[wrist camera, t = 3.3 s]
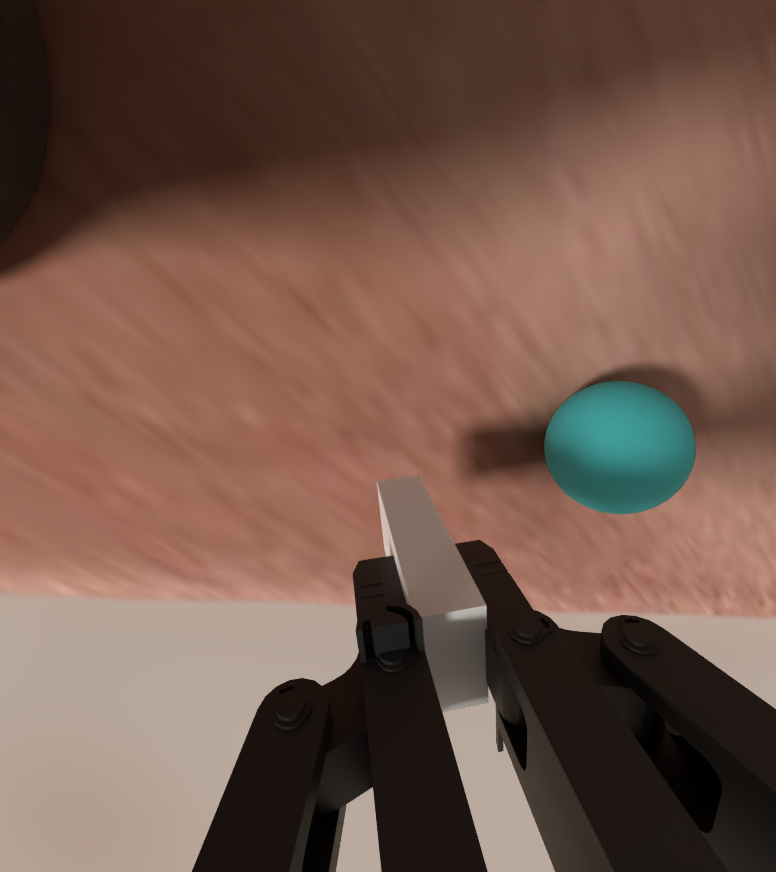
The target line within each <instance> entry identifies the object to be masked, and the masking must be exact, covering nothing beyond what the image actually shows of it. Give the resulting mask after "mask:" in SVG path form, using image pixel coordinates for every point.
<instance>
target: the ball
mask: <svg viewBox="0 0 776 872" xmlns="http://www.w3.org/2000/svg"><path fill="white" fill-rule="evenodd" d="M544 448H545V458H546V462H547V465H548V468H549V471H550V473H551V475H552V477H553V478H554V480H555V481H556V483H557V484H558V486H559V487H560V488H561V489H562V490H563V491H564V492H565V493H566V494H567V495H568V496H570V497H571V498H572V499H574V500H575V501H577V502H578V503H580V504H582V505H584V506H586V507H588V508H590V509H594V510H597V511H600V512H605V513H611V514H629V513H637V512H642V511H645V510H648V509H651V508H654V507H656V506H658V505H660V504H662V503H664V502H665V501H667V500H668V499H669V498H671V497H672V496H673V495H674V494H675V493H676V492H677V491H678V490H679V489H680V488H681V487H682V486H683V484H684V483H685V482H686V480H687V478H688V477H689V475H690V472H691V470H692V468H693V465H694V461H695V454H696V442H695V436H694V432H693V429H692V426H691V424H690V422H689V420H688V418H687V416H686V415H685V413H684V412H683V411H682V409H681V408H680V407H679V406H678V405H677V404H676V403H675V402H674V401H673V400H672V399H671V398H670V397H668V396H666V395H665V394H663V393H662V392H660V391H659V390H657V389H654V388H652V387H649V386H647V385H644V384H640V383H635V382H630V381H608V382H603V383H598V384H594V385H591V386H589V387H586V388H584V389H582V390H580V391H578V392H577V393H575V394H573V395H572V396H571V397H569V398H568V399H567V400H566V401H565V402H564V403H563V404H562V405H561V406H560V407H559V408H558V409H557V411H556V412H555V414H554V415H553V417H552V419H551V421H550V423H549V425H548V428H547V431H546V435H545V442H544Z"/></svg>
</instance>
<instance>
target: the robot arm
mask: <svg viewBox="0 0 776 872" xmlns="http://www.w3.org/2000/svg"><path fill="white" fill-rule="evenodd" d="M48 117H49V93H48V78H47V69H46V61H45V54H44V48H43V43H42V38H41V33H40V28H39V25H38V21H37V17H36V13H35V10H34V6H33V2H32V0H0V241H1V240H2V239H3V238H4V237H5V236H6V235H7V233H8V232H9V231H10V230H11V228H12V227H13V225H14V224H15V223H16V221H17V220H18V218H19V217H20V215H21V213H22V212H23V210H24V208H25V206H26V205H27V203H28V200H29V198H30V196H31V194H32V192H33V189H34V187H35V184H36V181H37V178H38V175H39V172H40V168H41V164H42V160H43V156H44V151H45V145H46V139H47V129H48ZM377 487H378V496H379V505H380V514H381V523H382V532H383V540H384V549H385V553H386V557H380V558H374V559H368V560H362V561H359V562H358V564H357V566H356V568H355V570H354V572H353V582H354V592H355V602H356V611H357V626H356V636H357V643H358V649H359V653H358V656H357V659H356V660H355V662H354V663H353V665H352V666H351V667H350V669H349V670H347V671H346V672H345V673H344V674H343V675H341V676H340V677H338V678H336V679H335V680H333V681H331V682H329V683H327V684H325V685H323V686H321V685H320V684H318V683H317V682H316V681H314V680H309V679H304V678H300V679H294V680H289V681H287V682H285V683H283V684H281V685H279V686H277V687H276V688H274V690H272V691H271V692H270V693H269V694H268V695H267V696H266V697H265V698H264V700H263V701H262V703H261V705H260V706H259V708H258V710H257V712H256V715H255V717H254V719H253V722H252V724H251V727H250V729H249V732H248V734H247V737H246V739H245V742H244V744H243V747H242V749H241V752H240V754H239V756H238V759H237V761H236V764H235V767H234V769H233V771H232V774H231V777H230V779H229V781H228V784H227V786H226V789H225V791H224V794H223V796H222V798H221V801H220V803H219V806H218V808H217V811H216V813H215V816H214V819H213V821H212V823H211V826H210V828H209V831H208V833H207V835H206V838H205V840H204V843H203V845H202V848H201V850H200V853H199V855H198V858H197V860H196V863H195V865H194V868H193V870H192V872H336V866H337V860H338V854H339V848H340V842H341V835H342V829H343V823H344V817H345V811H346V804H347V803H349V802H350V801H352V800H353V799H355V798H357V797H358V796H360V795H361V794H363V793H364V792H366V791H367V790H369V789H370V788H372V787H373V791H374V801H375V811H376V821H377V831H378V841H379V851H380V860H381V870H382V872H487V868H486V865H485V861H484V858H483V854H482V851H481V847H480V843H479V840H478V836H477V833H476V830H475V826H474V822H473V819H472V815H471V812H470V808H469V805H468V801H467V798H466V794H465V791H464V787H463V784H462V780H461V777H460V773H459V770H458V766H457V762H456V759H455V755H454V752H453V748H452V745H451V741H450V738H449V734H448V731H447V727H446V724H445V720H444V717H443V713H442V712H445V711H450V710H455V709H460V708H465V707H470V706H475V705H479V704H484V703H488V687H489V689H490V691H491V694H492V696H493V699H494V701H495V703H496V742H497V748H498V752H501V751H503V741H504V743H505V746H506V748H507V751H508V753H509V756H510V758H511V761H512V763H513V766H514V769H515V771H516V774H517V776H518V779H519V781H520V784H521V786H522V789H523V791H524V794H525V796H526V799H527V801H528V804H529V806H530V809H531V811H532V814H533V817H534V819H535V822H536V824H537V827H538V829H539V832H540V834H541V837H542V839H543V842H544V844H545V847H546V849H547V852H548V854H549V857H550V859H551V862H552V864H553V867H554V870H555V872H776V709H775V708H773V707H772V706H770V705H769V704H768V703H766V702H765V701H764V700H762V699H761V698H759V697H758V696H757V695H755V694H754V693H752V692H751V691H750V690H748V689H747V688H745V687H744V686H743V685H741V684H740V683H739V682H737V681H736V680H734V679H733V678H732V677H730V676H729V675H727V674H726V673H725V672H723V671H722V670H721V669H719V668H717V667H716V666H715V665H714V664H712V663H711V662H709V661H708V660H707V659H705V658H704V657H702V656H701V655H699V654H698V653H697V652H696V651H694V650H693V649H691V648H690V647H689V646H687V645H686V644H684V643H683V642H681V641H680V640H679V639H677V638H676V637H675V636H673V635H672V634H670V633H669V632H668V631H666V630H665V629H663V628H662V627H660V626H658V625H657V624H655V623H653V622H651V621H650V620H647V619H643V618H640V617H637V616H628V615H620V616H615V617H611V618H610V619H608V620H607V621H606V622H605V623H604V624H603V628H602V631H601V633H590V632H578V631H571V630H564V629H561V628H559V627H558V626H557V624H556V623H555V622H554V621H553V620H552V619H551V618H550V617H548V616H546V615H544V614H542V613H540V612H539V611H535V610H533V609H532V607H531V606H530V604H529V603H528V601H527V600H526V598H525V596H524V595H523V593H522V592H521V590H520V589H519V587H518V586H517V584H516V583H515V581H514V580H513V578H512V577H511V575H510V574H509V573H508V572H507V569H506V568H505V566H504V565H503V563H501V560H500V558H499V557H498V555H497V554H496V552H495V551H494V549H493V548H491V547H490V546H488V545H487V544H485V543H484V542H482V541H481V540H476V541H470V542H464V543H458V544H454V542H453V540H452V538H451V536H450V534H449V532H448V530H447V528H446V526H445V524H444V522H443V520H442V518H441V517H440V515H439V513H438V511H437V509H436V507H435V505H434V503H433V501H432V499H431V497H430V495H429V493H428V491H427V489H426V488H425V486H424V484H423V482H422V480H421V478H420V476H419V475H418V476H411V477H404V478H397V479H390V480H383V481H377Z"/></svg>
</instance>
